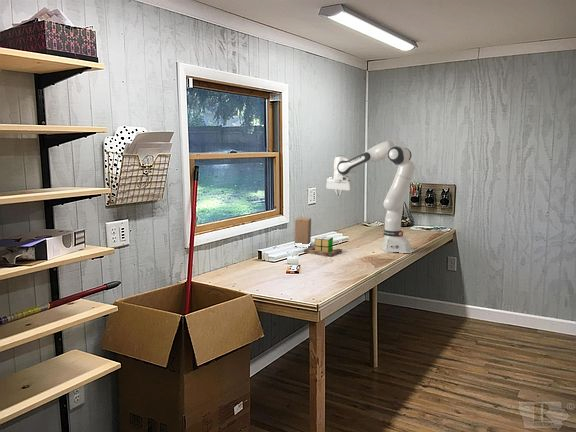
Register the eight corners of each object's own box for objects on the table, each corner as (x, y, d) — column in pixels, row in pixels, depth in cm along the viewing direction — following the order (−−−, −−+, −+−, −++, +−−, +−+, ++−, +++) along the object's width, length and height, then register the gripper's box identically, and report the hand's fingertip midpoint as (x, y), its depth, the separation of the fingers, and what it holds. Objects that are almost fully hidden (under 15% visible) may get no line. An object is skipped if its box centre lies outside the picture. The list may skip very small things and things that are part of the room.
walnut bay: (341, 252, 342) (341, 249, 342) (330, 256, 328) (330, 253, 328) (316, 248, 353) (316, 245, 353) (303, 252, 339) (303, 249, 338)
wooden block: (308, 248, 353) (309, 220, 350) (294, 247, 355) (294, 219, 352) (310, 245, 363) (311, 217, 359) (296, 244, 364) (297, 217, 361)
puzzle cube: (318, 250, 348) (319, 235, 346) (332, 251, 345) (333, 237, 343) (314, 253, 339) (314, 238, 337) (328, 254, 335) (329, 239, 334)
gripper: (324, 176, 376) (324, 195, 378) (349, 178, 365) (349, 197, 367) (328, 176, 381) (328, 194, 383) (353, 177, 371) (352, 196, 373)
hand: (338, 195), depth 375 cm, fingers closed
